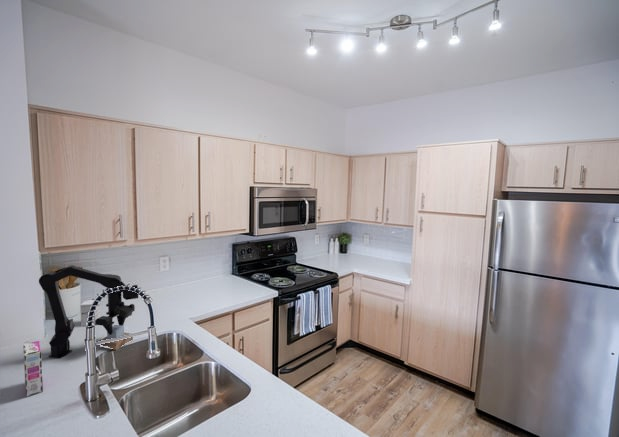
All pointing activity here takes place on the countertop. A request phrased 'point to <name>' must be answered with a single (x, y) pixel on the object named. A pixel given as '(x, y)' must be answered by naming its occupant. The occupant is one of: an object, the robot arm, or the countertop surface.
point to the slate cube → (116, 331)
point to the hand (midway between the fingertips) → (115, 331)
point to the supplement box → (85, 309)
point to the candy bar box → (33, 368)
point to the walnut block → (117, 342)
